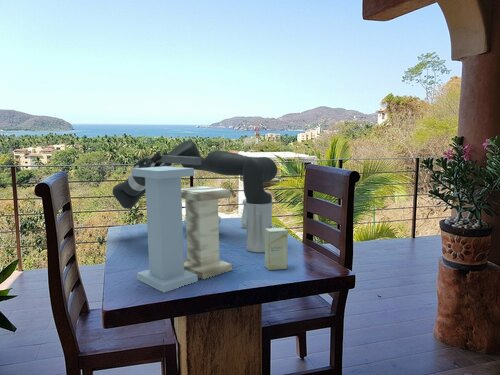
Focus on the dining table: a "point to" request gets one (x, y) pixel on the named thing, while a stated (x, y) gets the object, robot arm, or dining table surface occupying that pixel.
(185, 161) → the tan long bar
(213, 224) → the marble stand
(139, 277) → the tall stand
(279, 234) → the skincare box
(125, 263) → the dining table surface
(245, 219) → the salt shaker
